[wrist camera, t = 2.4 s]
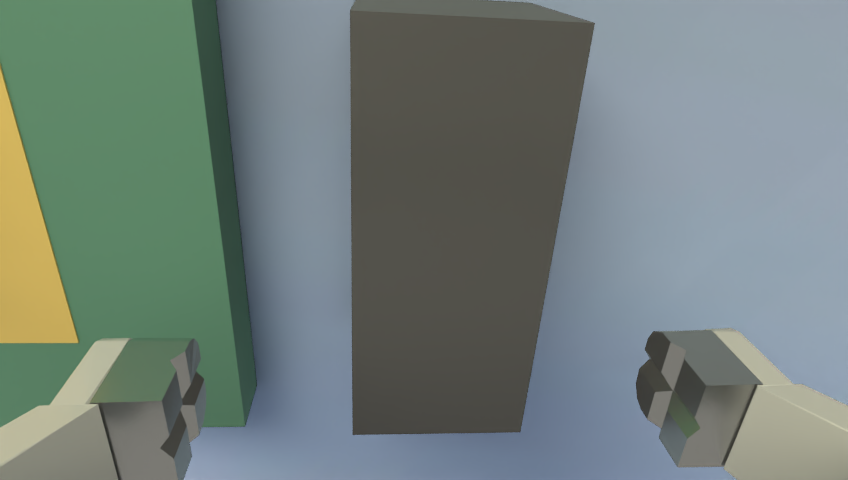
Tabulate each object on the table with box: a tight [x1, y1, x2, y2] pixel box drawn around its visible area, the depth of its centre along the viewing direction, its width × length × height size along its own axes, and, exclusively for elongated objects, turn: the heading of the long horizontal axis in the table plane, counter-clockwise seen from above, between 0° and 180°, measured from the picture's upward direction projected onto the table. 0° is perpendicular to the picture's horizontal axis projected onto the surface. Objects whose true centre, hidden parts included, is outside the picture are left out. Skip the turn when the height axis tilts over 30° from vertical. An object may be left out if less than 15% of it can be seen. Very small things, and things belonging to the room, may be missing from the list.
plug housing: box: [350, 0, 595, 435], centre depth 15 cm, size 5×11×5 cm, turn 177°
